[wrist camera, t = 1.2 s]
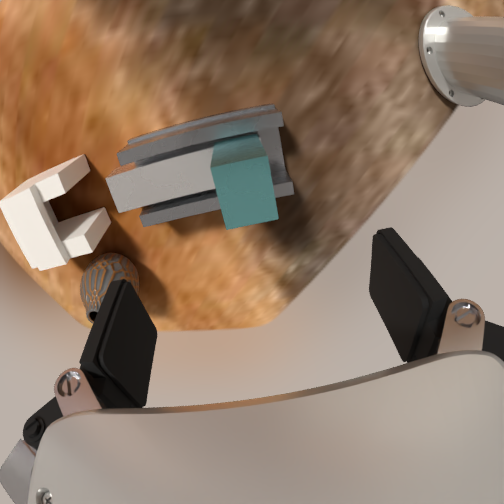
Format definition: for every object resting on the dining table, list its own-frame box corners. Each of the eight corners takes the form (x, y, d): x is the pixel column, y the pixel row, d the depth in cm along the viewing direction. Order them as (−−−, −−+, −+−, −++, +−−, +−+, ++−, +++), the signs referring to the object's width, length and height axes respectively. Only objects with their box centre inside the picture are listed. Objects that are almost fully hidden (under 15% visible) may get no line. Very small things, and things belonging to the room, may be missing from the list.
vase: (85, 247, 32) (56, 295, 25) (134, 239, 32) (112, 289, 25) (104, 291, 36) (84, 341, 29) (151, 286, 36) (137, 339, 29)
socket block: (84, 153, 26) (52, 177, 20) (111, 222, 31) (89, 258, 25) (26, 180, 27) (-7, 206, 21) (53, 240, 31) (28, 274, 25)
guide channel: (272, 103, 26) (280, 108, 22) (285, 180, 30) (294, 197, 26) (130, 138, 26) (115, 150, 22) (154, 209, 31) (144, 229, 27)
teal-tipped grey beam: (256, 127, 26) (271, 154, 17) (264, 170, 28) (282, 218, 20) (114, 164, 26) (70, 208, 18) (128, 203, 29) (95, 259, 20)
